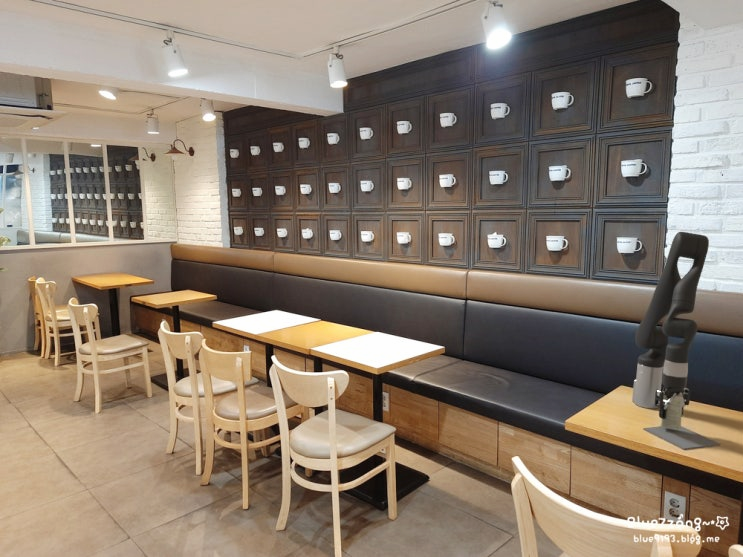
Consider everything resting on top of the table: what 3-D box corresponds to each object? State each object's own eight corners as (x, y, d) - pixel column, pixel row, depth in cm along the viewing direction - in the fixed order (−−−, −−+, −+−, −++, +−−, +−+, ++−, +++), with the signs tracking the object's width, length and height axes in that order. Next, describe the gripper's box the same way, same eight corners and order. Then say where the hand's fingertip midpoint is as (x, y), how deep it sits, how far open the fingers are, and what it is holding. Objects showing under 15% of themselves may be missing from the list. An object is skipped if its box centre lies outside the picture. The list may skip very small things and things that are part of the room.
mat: (643, 429, 187) (643, 428, 187) (677, 425, 191) (677, 424, 191) (683, 449, 170) (683, 448, 170) (720, 445, 175) (720, 443, 175)
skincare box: (680, 426, 186) (683, 393, 184) (680, 430, 182) (683, 397, 180) (660, 422, 189) (663, 390, 187) (659, 426, 185) (663, 393, 184)
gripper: (681, 369, 189) (677, 412, 191) (650, 371, 185) (646, 415, 186) (699, 375, 182) (695, 419, 184) (668, 377, 177) (663, 423, 179)
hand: (670, 417), depth 185 cm, fingers closed on skincare box, 7 cm apart
